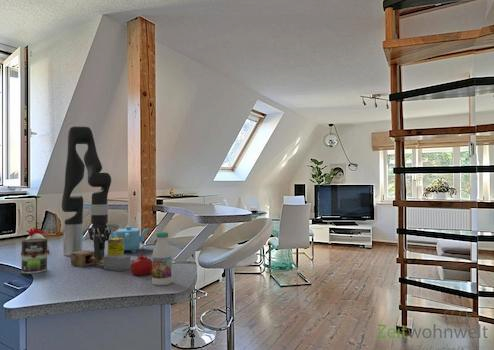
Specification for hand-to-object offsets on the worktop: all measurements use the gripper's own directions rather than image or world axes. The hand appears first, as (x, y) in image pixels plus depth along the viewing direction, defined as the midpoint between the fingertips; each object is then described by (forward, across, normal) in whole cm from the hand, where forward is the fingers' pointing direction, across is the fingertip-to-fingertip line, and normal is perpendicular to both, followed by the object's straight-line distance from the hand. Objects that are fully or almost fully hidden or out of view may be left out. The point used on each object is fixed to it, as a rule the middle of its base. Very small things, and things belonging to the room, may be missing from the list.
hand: (99, 249), depth 171 cm
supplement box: (+8, -5, +15) cm, 18 cm away
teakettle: (+8, -17, +36) cm, 41 cm away
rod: (+7, +6, 0) cm, 9 cm away
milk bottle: (+8, +47, -10) cm, 49 cm away
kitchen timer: (+8, -60, +7) cm, 61 cm away
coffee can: (+8, -20, -19) cm, 29 cm away
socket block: (+8, -11, 0) cm, 14 cm away
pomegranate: (+8, +29, -2) cm, 30 cm away
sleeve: (+8, +12, 0) cm, 14 cm away
